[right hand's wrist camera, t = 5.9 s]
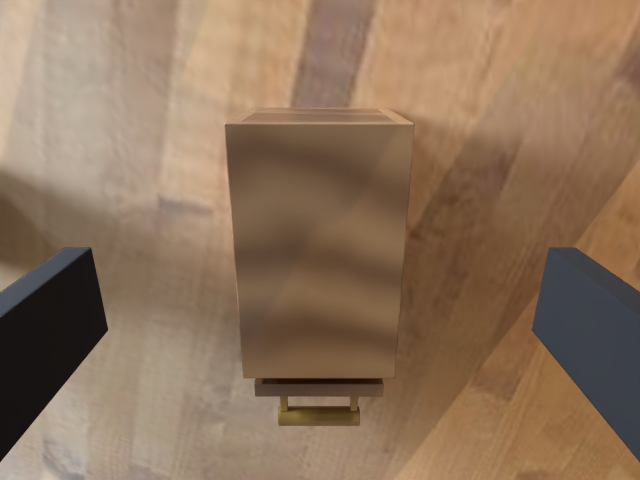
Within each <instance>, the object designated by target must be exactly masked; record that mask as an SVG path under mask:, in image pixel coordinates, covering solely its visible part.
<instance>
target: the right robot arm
mask: <svg viewBox="0 0 640 480" xmlns="http://www.w3.org/2000/svg"><path fill="white" fill-rule="evenodd" d="M107 331H108V326H107V322H106V317H105V312H104V307H103V302H102V298H101V293H100V288H99V283H98V278H97V274H96V269H95V264H94V259H93V254H92V250H91V248H63V249H62V250H60V251H59V252H57V253H56V254H55V255H53V256H52V257H50V258H49V259H47V260H46V261H44V262H43V263H42V264H40V265H39V266H37V267H36V268H34V269H33V270H31V271H30V272H29V273H27V274H26V275H24V276H23V277H21V278H20V279H18V280H17V281H16V282H14V283H13V284H11V285H10V286H8V287H7V288H5V289H4V290H3V291H1V292H0V462H1V461H2V459H3V458H4V457H5V456H6V455H7V453H8V452H9V451H10V450H11V448H12V447H13V446H14V445H15V444H16V442H17V441H18V440H19V439H20V437H21V436H22V435H23V434H24V433H25V431H26V430H27V429H28V428H29V426H30V425H31V424H32V423H33V421H34V420H35V419H36V418H37V417H38V415H39V414H40V413H41V412H42V410H43V409H44V408H45V407H46V406H47V404H48V403H49V402H50V401H51V399H52V398H53V397H54V396H55V395H56V393H57V392H58V391H59V390H60V388H61V387H62V386H63V385H64V384H65V382H66V381H67V380H68V379H69V377H70V376H71V375H72V374H73V372H74V371H75V370H76V369H77V368H78V366H79V365H80V364H81V363H82V361H83V360H84V359H85V358H86V357H87V355H88V354H89V353H90V352H91V350H92V349H93V348H94V347H95V346H96V344H97V343H98V342H99V341H100V339H101V338H102V337H103V336H104V335H105V333H106V332H107ZM532 331H533V332H534V333H535V335H536V336H537V337H538V338H539V339H540V341H541V342H542V343H543V344H544V346H545V347H546V348H547V349H548V350H549V352H550V353H551V354H552V355H553V357H554V358H555V359H556V360H557V361H558V363H559V364H560V365H561V366H562V368H563V369H564V370H565V371H566V373H567V374H568V375H569V376H570V377H571V379H572V380H573V381H574V382H575V384H576V385H577V386H578V387H579V388H580V390H581V391H582V392H583V393H584V395H585V396H586V397H587V398H588V399H589V401H590V402H591V403H592V404H593V406H594V407H595V408H596V409H597V410H598V412H599V413H600V414H601V415H602V417H603V418H604V419H605V420H606V421H607V423H608V424H609V425H610V426H611V428H612V429H613V430H614V431H615V433H616V434H617V435H618V436H619V437H620V439H621V440H622V441H623V442H624V444H625V445H626V446H627V447H628V448H629V450H630V451H631V452H632V453H633V455H634V456H635V457H636V458H637V459H638V461H639V462H640V292H639V291H637V290H636V289H635V288H633V287H632V286H630V285H629V284H627V283H626V282H624V281H623V280H622V279H620V278H619V277H617V276H616V275H614V274H613V273H611V272H610V271H609V270H607V269H606V268H604V267H603V266H601V265H600V264H598V263H597V262H596V261H594V260H593V259H591V258H590V257H588V256H587V255H585V254H584V253H583V252H581V251H580V250H578V249H577V248H549V250H548V254H547V259H546V264H545V269H544V274H543V278H542V283H541V288H540V293H539V298H538V302H537V307H536V312H535V317H534V322H533V326H532Z"/></svg>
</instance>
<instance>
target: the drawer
mask: <svg viewBox="0 0 640 480" xmlns="http://www.w3.org/2000/svg"><path fill="white" fill-rule="evenodd" d="M254 385H255V396H280V405H281V406H280V407H279V412H278V424H279V426H359V425H360V410H359V407H358V396H383V386H384V384H383V379H382V378H256V379H255V384H254ZM288 396H350V406H288Z"/></svg>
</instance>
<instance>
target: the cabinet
mask: <svg viewBox="0 0 640 480" xmlns="http://www.w3.org/2000/svg"><path fill="white" fill-rule="evenodd" d="M414 127H415V124H414V123H412V122H410V121H408V120H406V119H405V118H403V117H401V116H400V115H398V114H396V113H394V112H393V111H391V110H389V109H388V108H251V109H249V110H247V111H246V112H244V113H242V114H240V115H238V116H237V117H235V118H233V119H231V120H230V121H228V122H226V123H224V132H225V145H226V158H227V171H228V184H229V197H230V210H231V223H232V236H233V248H234V261H235V274H236V287H237V300H238V313H239V326H240V339H241V352H242V365H243V377H244V378H395V366H396V353H397V341H398V328H399V315H400V303H401V290H402V278H403V265H404V252H405V240H406V227H407V215H408V202H409V189H410V177H411V164H412V152H413V139H414Z"/></svg>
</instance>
